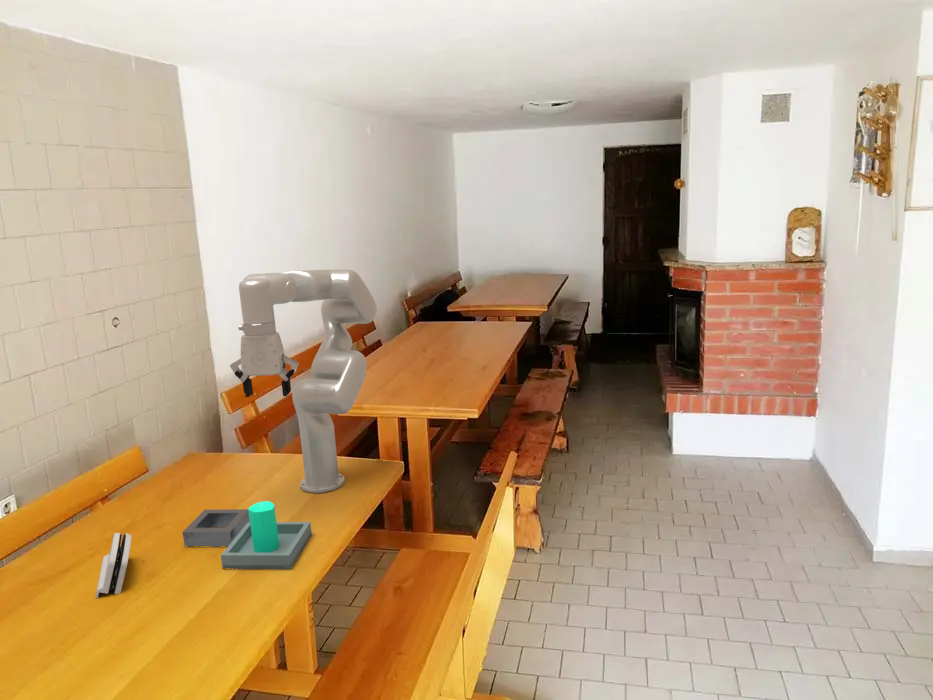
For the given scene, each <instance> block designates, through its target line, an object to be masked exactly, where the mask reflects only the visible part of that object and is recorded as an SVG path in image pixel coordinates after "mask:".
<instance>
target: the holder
mask: <svg viewBox="0 0 933 700" xmlns="http://www.w3.org/2000/svg"><path fill="white" fill-rule="evenodd" d="M248 522H250V518H249V511H248V509H236V508H235V509H203V511H201V512H200V514H198V516H197V517H196V518H194V520H193V521H192V522H191V523H190V524H189V525H188V526H187V527H186V528H185V529H183V531H182V537H183V543H184V547H185V546H212V547H211V548H220V547H219V546H229V545H230V543H231V542H232V541H233V540H234V539H235V537H236V536H237V535H238V534H239V532H240V531H241V530H242V529H243V528H244V526H245V525H246V524H247V523H248ZM210 527H211V528H210ZM216 546H217V547H216Z"/></svg>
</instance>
